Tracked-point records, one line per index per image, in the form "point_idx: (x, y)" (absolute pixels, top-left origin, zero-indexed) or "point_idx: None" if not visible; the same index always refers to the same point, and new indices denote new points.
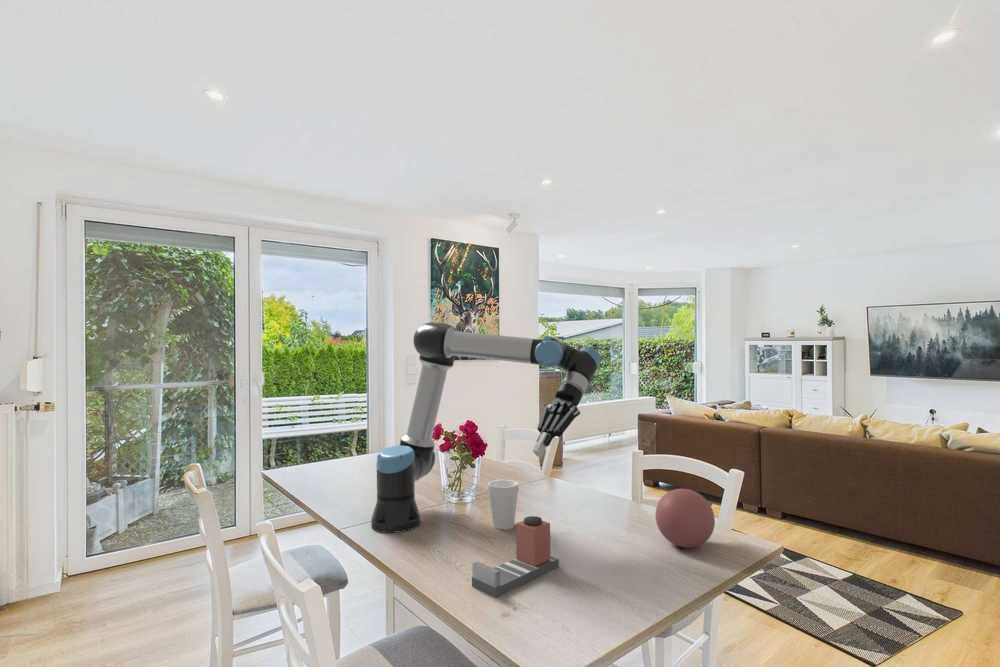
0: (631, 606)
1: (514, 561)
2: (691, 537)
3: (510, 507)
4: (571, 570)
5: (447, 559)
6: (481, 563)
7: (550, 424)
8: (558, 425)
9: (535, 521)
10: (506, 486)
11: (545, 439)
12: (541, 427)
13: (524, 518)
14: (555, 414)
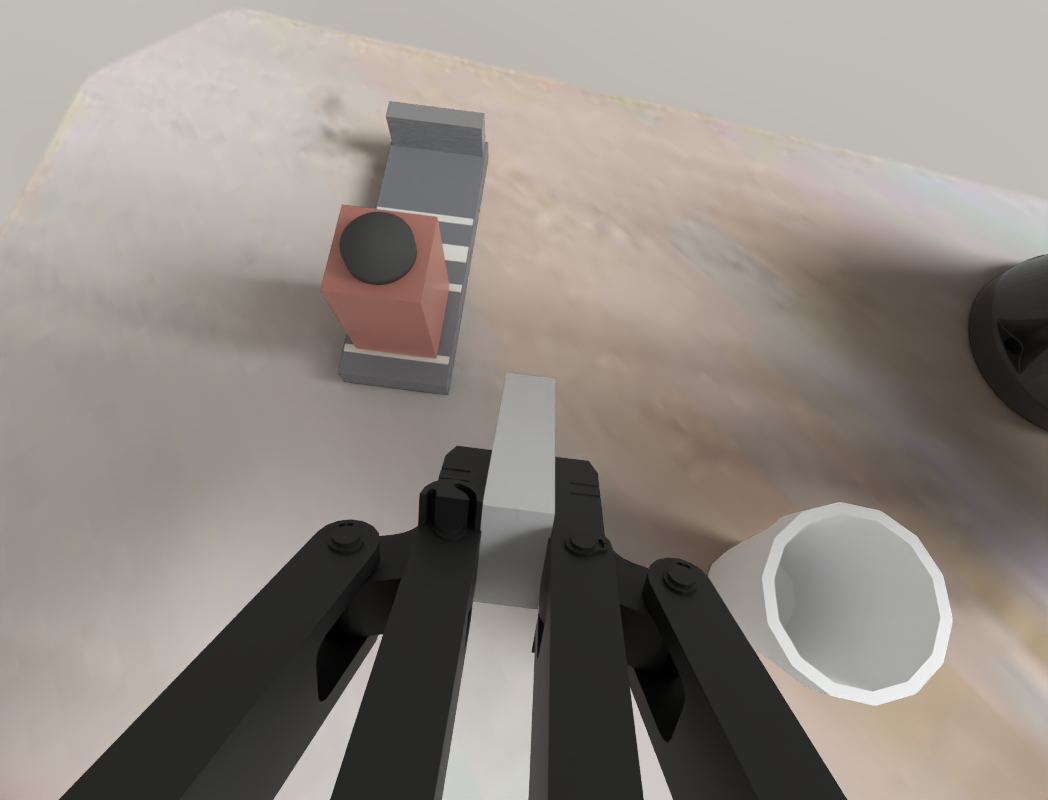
0: (62, 287)
1: (450, 278)
2: None
3: (730, 573)
4: (298, 384)
5: (665, 237)
6: (461, 125)
7: (539, 719)
8: (301, 610)
9: (352, 226)
10: (876, 672)
11: (481, 478)
12: (654, 611)
13: (412, 232)
14: None
